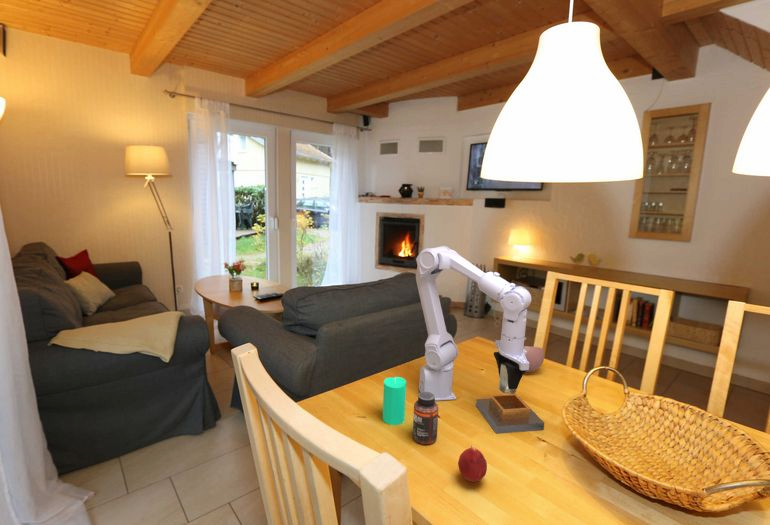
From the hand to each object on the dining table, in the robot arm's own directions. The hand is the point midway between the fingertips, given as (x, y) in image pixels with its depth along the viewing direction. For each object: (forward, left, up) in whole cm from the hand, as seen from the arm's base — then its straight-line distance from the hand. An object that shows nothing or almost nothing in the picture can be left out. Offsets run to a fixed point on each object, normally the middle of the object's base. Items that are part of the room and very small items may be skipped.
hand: (508, 383), depth 101 cm
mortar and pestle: (+20, +27, -11) cm, 36 cm away
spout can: (0, 0, -2) cm, 2 cm away
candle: (-30, +4, -11) cm, 32 cm away
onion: (-18, -20, -11) cm, 29 cm away
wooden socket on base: (+1, +1, -10) cm, 11 cm away
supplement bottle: (-24, -5, -11) cm, 26 cm away
